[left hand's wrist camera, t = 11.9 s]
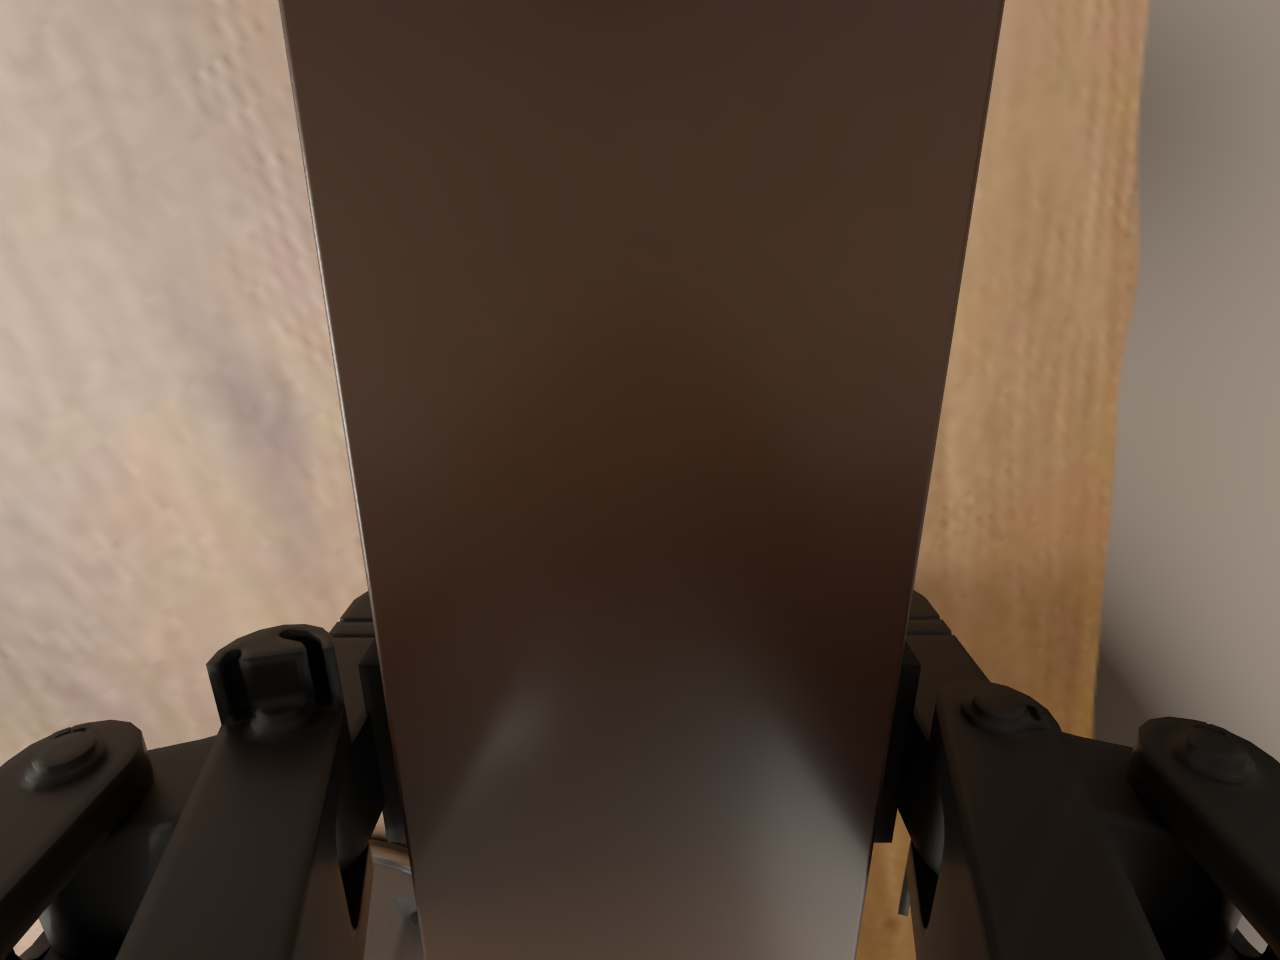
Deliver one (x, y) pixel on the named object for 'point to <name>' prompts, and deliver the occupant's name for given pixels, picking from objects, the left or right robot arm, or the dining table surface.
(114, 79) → the dining table surface
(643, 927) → the bar
